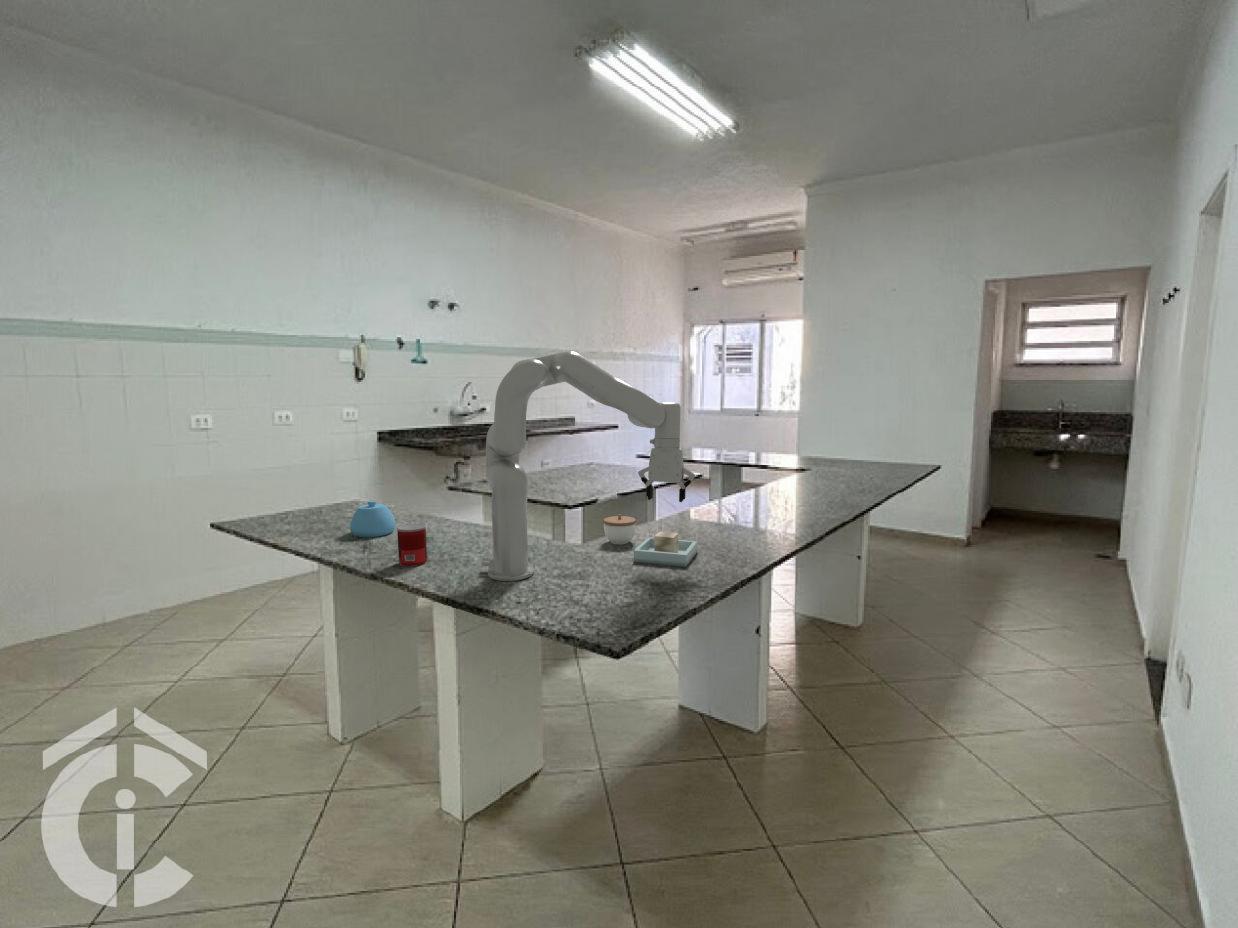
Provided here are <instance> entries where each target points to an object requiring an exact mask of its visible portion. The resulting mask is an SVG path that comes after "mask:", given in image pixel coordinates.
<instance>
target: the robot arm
mask: <svg viewBox="0 0 1238 928" xmlns="http://www.w3.org/2000/svg"><path fill="white" fill-rule="evenodd" d="M565 382H566V383H567V384H568V385H570V386H572V387H573V388H574V389H576V390H578V391H580V392H582V393H583V394H584V395H586V396H588V397H589V398H590V399H592V400H594V401H595V402H597V403H599V404H602V405H604V406H607V407H610V408H612V409H616V410H618V411H621V412H622V413H624V414H626V416H627V419H628V421H629V422H630V423H631V424H632V425H634V426H637V427H641V428H646V429H654V438H650V439H649V444H650V445H653V447H652V448H651V450H650V454H649V460H648V462H649V463H648V466H647V467H644V468H643V469H640V470H639V471H638V472H637V474H638V475H639V478H640V480H641V481H642V483H643V484H644V485H645V487H646V490H645V491H646V494H645V497H647V500H649V501H650V500H652V499H653V498H654V497H653V496H654V495H653V494H654V486H653V483H654V482H656V483H657V482H658V483H672V484H673V483H675V484H676V483H677V484H678V486H679V487H680V488H679V489H678V491H679V494H678V502H679V503H683V502H684V500H685V499H686V492H687V491H686V488H687V487H689V485H690V484H692V482H693V481H694V479H695V478H696V474H695V473H694V472H692V471H690V470H689V469H686V468H685V467H684V454H683V449H682V447H681V445H680V442H681V415H682V414H681V410H682V409H681V405H680V403H678V402H675V401H673V402H672V401H660V402H658V401H656V400H655V399H653V398H651V397H650V396H649V395H647V394H646V393H644V392H642V391H641V390H640V389H637V387H636V388H635V387H634V386H632V385H631V384H628V383H627V382H625V381H623V380H621V379H619V378H617V377H615V376H613V374H610V373H609V372H608V371H606V370H604V369H603V368H601V367H600V366H598V365H597V364H595V363H593V361H591V360H589V359H588V358H586V357H585V356H583V355H581V354H580V353H578V352H576V351H572V350H571V351H570V350H568V351H561V352H556V353H554V354H550V355H545V356H539V357H534V358H528V359H522V360H519V361H517V362H516V363H514V364H513V366H512V368H511V369H510V370H509V371H508V372H507V373H506V374H505V375H504V377H503V378H502V379H501V382H499V386H498V388H497V391H496V393H495V401H494V413H493V414H494V416H493V417H494V418H493V424H492V425H491V426H490V427H489V428H488V431H487V433H486V438H485V439H486V440H485V442H486V443H485V477H486V481H487V483H488V485H489V486H490V487H491V526H492V527H491V530H492V532H491V533H492V557H489V556H483V557H482V561H481V566H485V567H489V569H488V570H487V576H488V578H490V579H492V580H494V581H495V580H496V581H499V582H503V581H504V582H513V581H519V580H521V581H522V580H525V579H528V578H531V577H532V576H533V575H534V574H535V572H534V571H535V569H534V567H533V566H531V565H529V548H528V546H529V545H528V544H529V543H528V541H529V539H528V511H527V510H528V506H527V505H528V493H529V492H528V491H529V480H528V476H527V473H526V471H525V469H524V468H523V467H522V466H521V465H520V462H519V461H520V454H522V453H523V451H524V450H525V448H526V444H527V411H528V402H529V399H530V397H531V396H532V394H533V393H534V392H535V391H538V390H540V389H541V388H543V387H548V386H552V385H557V384H562V383H565ZM647 472H648V473H647ZM646 473H647V475H648V476H647V477H648V478H647V477H646V475H645V474H646ZM684 475H686V476H687V477H688V478H687V480H686V481H685V480H684V478H685V477H684Z"/></svg>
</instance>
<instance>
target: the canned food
mask: <svg viewBox="0 0 1238 928" xmlns="http://www.w3.org/2000/svg"><path fill="white" fill-rule="evenodd" d="M396 534H397V547H398V548H397V549H398V550H397V551H398V552H397V553H398V562H399V565H401V566H402V567H403V566H404V567H417V566H421V565H424V564H426V563H427V560H428V547H427V546H428V545H427V543H428V541H427V527H426V525H425V524H423V523H408V524H403V525H402V524H401V525H399V526H398V527H397V533H396Z"/></svg>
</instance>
